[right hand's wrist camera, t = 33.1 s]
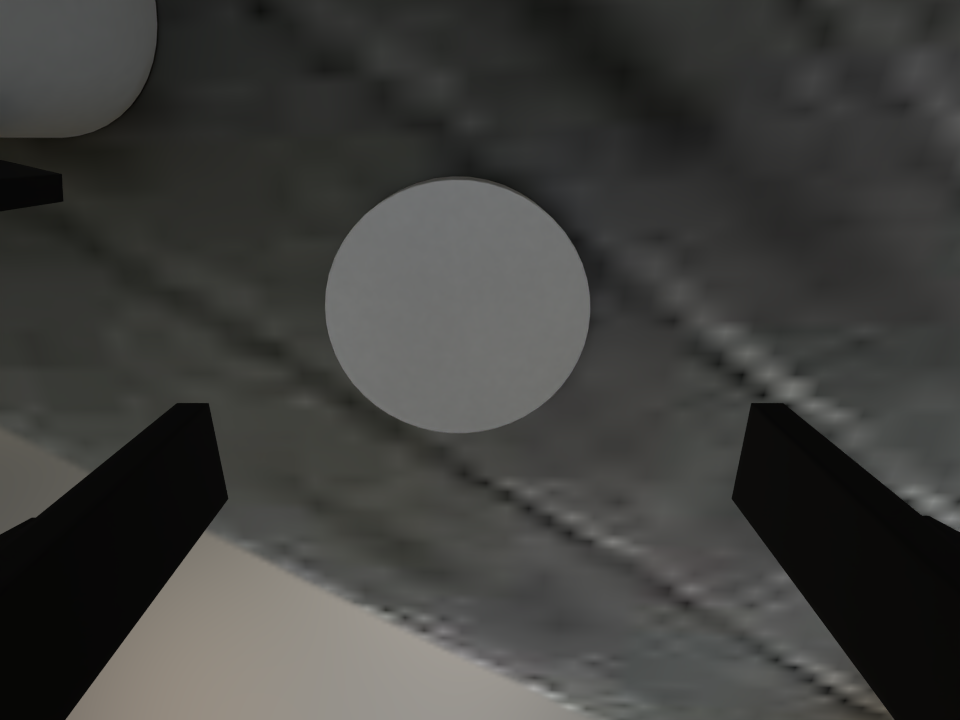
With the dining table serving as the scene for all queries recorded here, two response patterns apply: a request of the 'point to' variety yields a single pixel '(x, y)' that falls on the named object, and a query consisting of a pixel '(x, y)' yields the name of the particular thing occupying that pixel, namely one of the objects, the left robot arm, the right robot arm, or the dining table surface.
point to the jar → (72, 63)
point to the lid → (457, 305)
